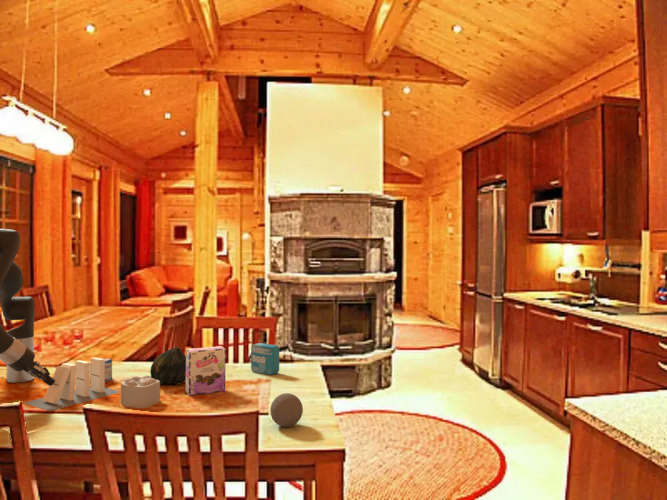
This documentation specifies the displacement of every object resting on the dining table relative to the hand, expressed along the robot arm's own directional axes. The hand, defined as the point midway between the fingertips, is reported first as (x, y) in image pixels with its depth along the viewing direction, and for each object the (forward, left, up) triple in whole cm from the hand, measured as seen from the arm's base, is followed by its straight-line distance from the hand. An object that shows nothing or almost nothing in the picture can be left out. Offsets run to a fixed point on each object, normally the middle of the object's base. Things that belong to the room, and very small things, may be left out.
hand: (52, 383), depth 181 cm
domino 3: (0, +11, -7) cm, 13 cm away
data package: (+32, +75, -7) cm, 82 cm away
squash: (+12, +41, -7) cm, 44 cm away
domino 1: (0, -1, -6) cm, 6 cm away
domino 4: (0, +17, -7) cm, 18 cm away
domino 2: (0, +5, -7) cm, 8 cm away
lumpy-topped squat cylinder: (+22, +18, -8) cm, 30 cm away
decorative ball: (+79, +28, -7) cm, 84 cm away
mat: (0, +8, -7) cm, 11 cm away
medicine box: (-11, +26, -8) cm, 29 cm away
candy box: (+32, +40, -7) cm, 52 cm away
